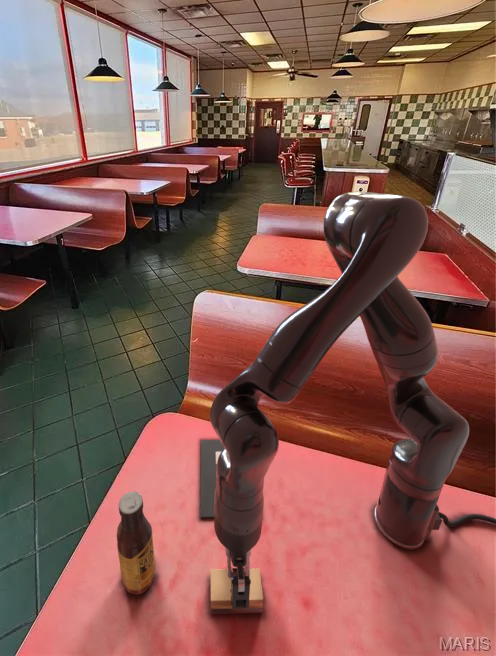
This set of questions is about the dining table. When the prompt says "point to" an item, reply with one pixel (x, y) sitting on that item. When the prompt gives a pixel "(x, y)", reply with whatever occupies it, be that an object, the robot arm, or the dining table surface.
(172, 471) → the dining table surface
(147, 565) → the sauce bottle
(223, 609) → the eraser
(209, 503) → the slate board
